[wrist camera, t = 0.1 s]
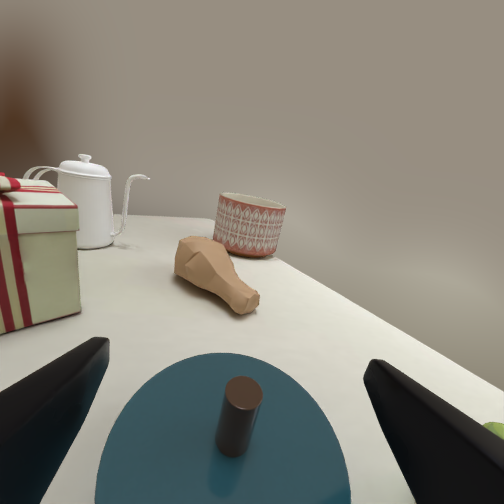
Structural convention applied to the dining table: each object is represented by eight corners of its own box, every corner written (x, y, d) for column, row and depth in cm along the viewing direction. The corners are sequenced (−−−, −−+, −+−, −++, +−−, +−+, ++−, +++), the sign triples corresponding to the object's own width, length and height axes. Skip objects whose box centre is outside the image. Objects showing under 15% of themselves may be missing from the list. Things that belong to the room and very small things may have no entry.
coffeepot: (136, 259, 51) (141, 168, 45) (7, 239, 48) (-7, 138, 42) (153, 244, 61) (158, 167, 55) (47, 226, 58) (41, 143, 52)
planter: (226, 261, 61) (237, 202, 56) (203, 236, 76) (210, 189, 71) (286, 260, 70) (300, 210, 66) (255, 238, 86) (264, 197, 81)
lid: (408, 644, 11) (466, 587, 9) (2, 706, 8) (-25, 640, 6) (301, 366, 25) (315, 324, 23) (145, 355, 22) (148, 307, 21)
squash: (200, 265, 55) (214, 230, 53) (262, 319, 45) (283, 278, 42) (157, 265, 47) (172, 223, 45) (221, 333, 36) (245, 282, 34)
